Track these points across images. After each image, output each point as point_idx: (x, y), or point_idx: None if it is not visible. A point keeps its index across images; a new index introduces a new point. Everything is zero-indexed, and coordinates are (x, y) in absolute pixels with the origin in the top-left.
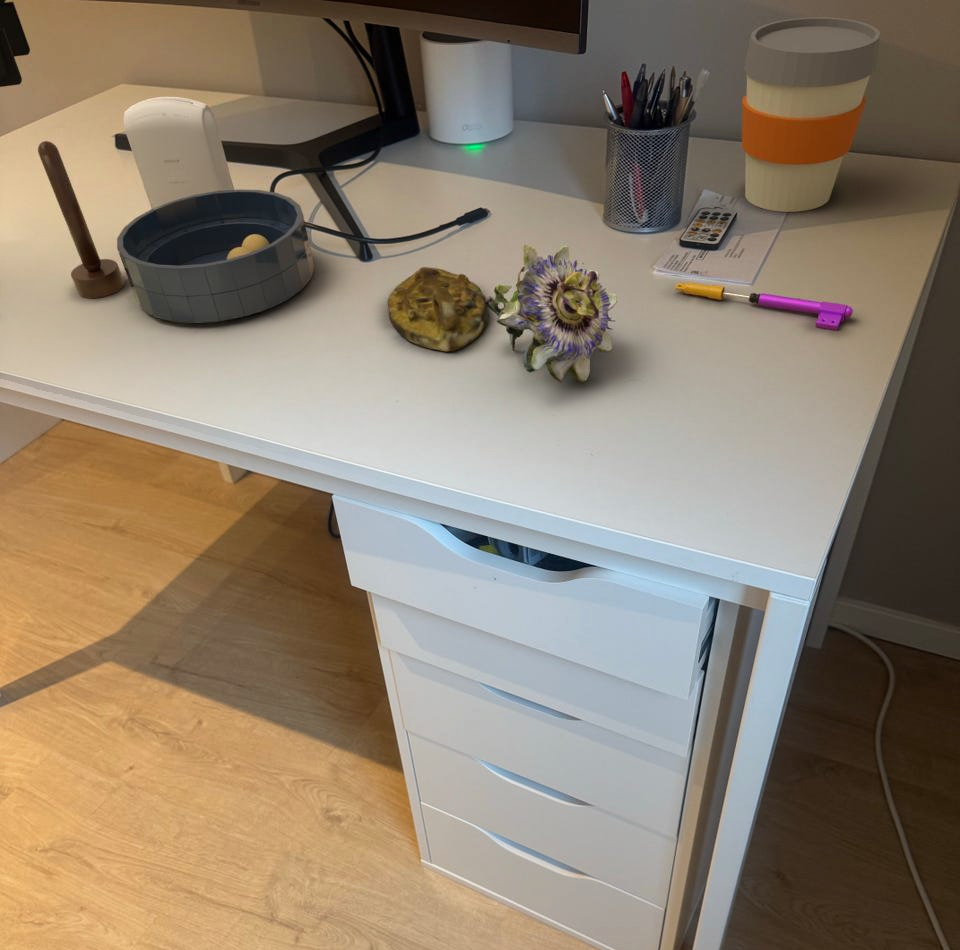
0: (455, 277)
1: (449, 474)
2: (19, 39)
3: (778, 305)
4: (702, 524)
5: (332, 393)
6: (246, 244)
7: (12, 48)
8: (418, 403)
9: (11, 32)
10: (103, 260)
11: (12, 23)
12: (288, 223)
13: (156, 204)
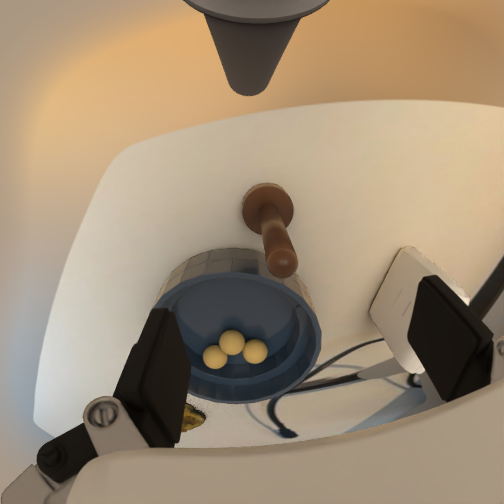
0: (187, 428)
1: (42, 381)
2: (419, 349)
3: None
4: (42, 418)
5: (84, 361)
6: (248, 352)
7: (417, 323)
8: (81, 387)
9: (428, 350)
10: (287, 218)
11: (434, 368)
12: (272, 379)
13: (403, 259)
